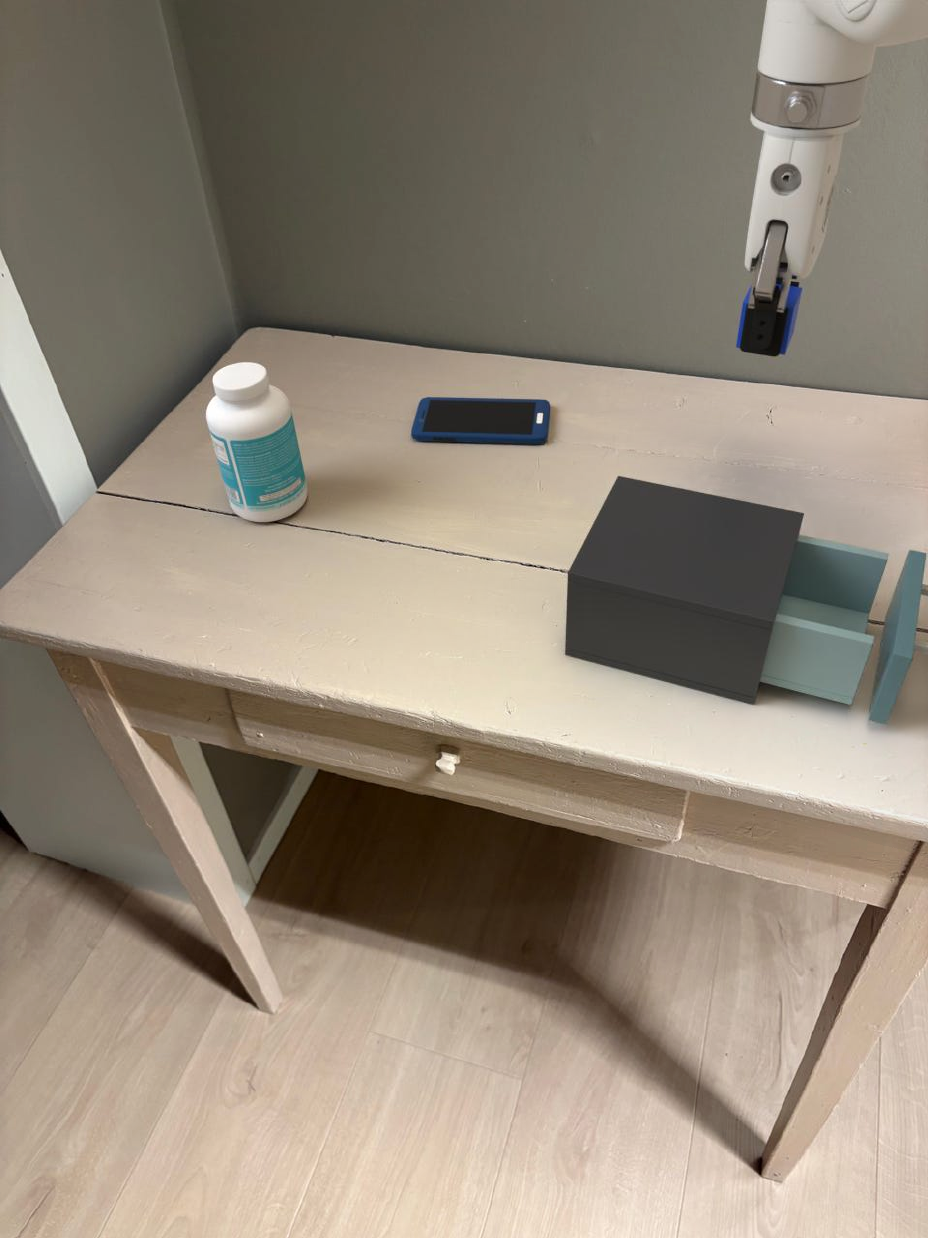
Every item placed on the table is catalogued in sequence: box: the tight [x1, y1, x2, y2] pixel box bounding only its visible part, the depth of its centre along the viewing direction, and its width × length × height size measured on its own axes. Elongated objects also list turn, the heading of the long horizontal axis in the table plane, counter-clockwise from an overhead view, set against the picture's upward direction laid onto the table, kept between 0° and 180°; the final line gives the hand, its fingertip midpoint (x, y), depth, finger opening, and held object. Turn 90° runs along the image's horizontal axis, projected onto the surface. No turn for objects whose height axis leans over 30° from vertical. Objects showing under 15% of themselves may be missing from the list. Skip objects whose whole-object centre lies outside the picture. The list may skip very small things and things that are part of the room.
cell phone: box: [410, 396, 552, 445], centre depth 99 cm, size 7×14×1 cm, turn 83°
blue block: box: [735, 283, 803, 356], centre depth 79 cm, size 4×4×4 cm
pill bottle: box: [205, 361, 309, 523], centre depth 87 cm, size 8×7×14 cm
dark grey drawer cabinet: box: [564, 475, 805, 705], centre depth 74 cm, size 15×13×9 cm
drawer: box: [760, 534, 928, 725], centre depth 70 cm, size 18×11×7 cm, turn 67°
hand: (765, 336), depth 80 cm, fingers closed on blue block, 4 cm apart
